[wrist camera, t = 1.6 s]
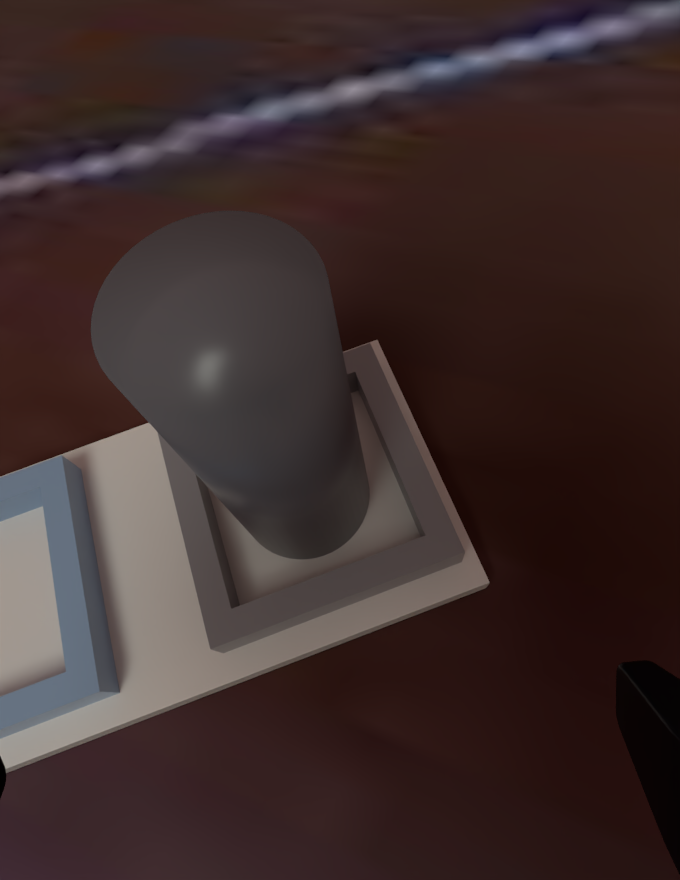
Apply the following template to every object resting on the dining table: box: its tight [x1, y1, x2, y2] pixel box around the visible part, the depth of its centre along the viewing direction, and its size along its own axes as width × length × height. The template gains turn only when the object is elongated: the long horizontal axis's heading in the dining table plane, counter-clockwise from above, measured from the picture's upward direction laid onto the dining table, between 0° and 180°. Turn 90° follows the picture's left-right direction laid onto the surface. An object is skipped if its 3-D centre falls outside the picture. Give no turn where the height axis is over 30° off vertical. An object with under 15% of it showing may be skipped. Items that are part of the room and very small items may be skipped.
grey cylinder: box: [91, 211, 369, 559], centre depth 18 cm, size 5×5×12 cm
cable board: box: [0, 340, 490, 773], centre depth 23 cm, size 23×11×2 cm, turn 110°
